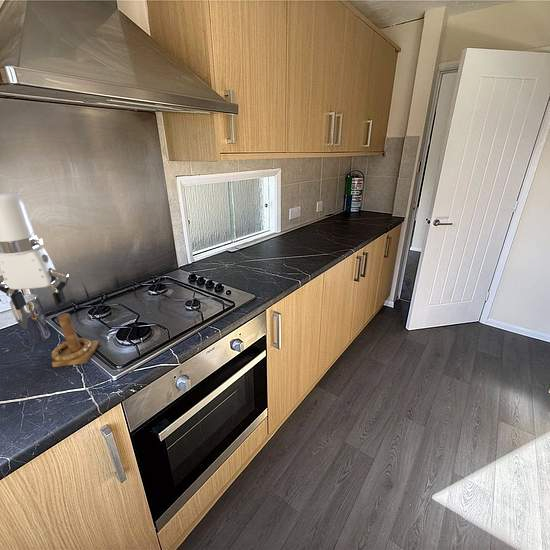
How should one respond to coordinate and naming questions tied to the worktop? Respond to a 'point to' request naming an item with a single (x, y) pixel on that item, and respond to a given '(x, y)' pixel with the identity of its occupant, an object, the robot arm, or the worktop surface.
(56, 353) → the ring
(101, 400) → the worktop surface
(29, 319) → the beer glass
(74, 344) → the stand
